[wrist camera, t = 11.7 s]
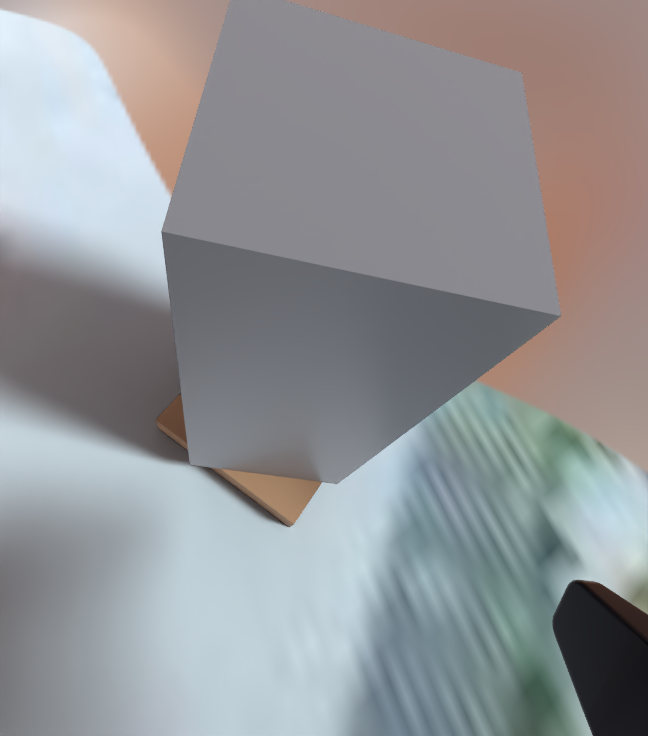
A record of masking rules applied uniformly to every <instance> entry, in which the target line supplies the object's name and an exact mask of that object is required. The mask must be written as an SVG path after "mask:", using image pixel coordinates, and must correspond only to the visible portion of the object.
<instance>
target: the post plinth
mask: <svg viewBox="0 0 648 736" xmlns="http://www.w3.org/2000/svg"><path fill="white" fill-rule="evenodd" d="M156 423H157V426H158V428H159V429H160V430H161V431H162V432H164V433H165V434H166V435H168V436H169V437H170V438H172V439H173V440H174V441H176V442H177V443H178V444H180V445H181V446H182V447H184V448H185V449H186V450H188V445H187V437H186V429H185V421H184V412H183V404H182V396H181V393H180V394H179V396H178V397H177V398H176V399H175V400H174V401H173V402H172V403H171V404H170V405H169V406H168V407H167V408H166V409H165V410H164V411H163V412H162V414H161V415H160V416H159V417H158V418H157V419H156ZM210 468H211V467H210ZM211 469H213V470H214V471H215V472H217V473H218V474H219V475H221V476H222V477H223V478H225V479H226V480H227V481H229V482H230V483H231V484H233V485H234V486H235V487H237V488H238V489H239V490H241V491H242V492H243V493H245V494H246V495H247V496H249V497H250V498H251V499H252V500H254V501H255V502H256V503H258V504H259V505H260V506H262V507H263V508H264V509H266V510H267V511H268V512H270V513H271V514H272V515H274V516H275V517H276V518H278V519H279V520H280V521H282V522H283V523H284V524H286V525H287V526H288V527H290V526H292V525H293V524H294V523H295V522H296V520H297V519H298V517H299V516H300V514H301V513H302V511H303V510H304V508H305V507H306V505H307V504H308V502H309V501H310V499H311V498H312V496H313V495H314V493H315V492H316V490H317V489H318V487H319V486H320V484H321V483H322V482H318V481H310V480H302V479H295V478H287V477H279V476H272V475H264V474H256V473H249V472H241V471H234V470H226V469H218V468H211Z"/></svg>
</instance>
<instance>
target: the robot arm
mask: <svg viewBox="0 0 648 736" xmlns="http://www.w3.org/2000/svg"><path fill="white" fill-rule="evenodd" d="M552 623H553V631H554V634H555V637H556V640H557V642H558V645H559V648H560V650H561V653H562V656H563V658H564V661H565V664H566V666H567V669H568V672H569V674H570V677H571V680H572V682H573V685H574V688H575V690H576V693H577V696H578V698H579V701H580V704H581V706H582V709H583V712H584V714H585V717H586V720H587V722H588V725H589V727H590V730H591V732H592V735H593V736H648V615H647V614H646V613H644V612H643V611H641V610H640V609H638V608H637V607H635V606H634V605H632V604H631V603H629V602H628V601H626V600H625V599H623V598H622V597H620V596H619V595H617V594H616V593H614V592H613V591H611V590H610V589H608V588H606V587H605V586H603V585H602V584H600V583H597V582H594V581H585V580H574V581H572V582H571V583H569V585H568V586H567V588H566V590H565V592H564V595H563V597H562V599H561V601H560V603H559V605H558V607H557V609H556V611H555V613H554V616H553V621H552Z"/></svg>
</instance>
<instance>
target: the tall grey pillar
mask: <svg viewBox="0 0 648 736" xmlns="http://www.w3.org/2000/svg"><path fill="white" fill-rule="evenodd" d="M161 232H162V240H163V248H164V256H165V265H166V273H167V281H168V289H169V297H170V306H171V314H172V322H173V330H174V339H175V347H176V355H177V363H178V371H179V380H180V388H181V396H182V404H183V412H184V421H185V429H186V437H187V445H188V453H189V462H190V465H195V466H203V467H211V468H218V469H226V470H234V471H241V472H249V473H256V474H264V475H272V476H279V477H287V478H295V479H302V480H310V481H318V482H325V483H333V484H338V483H339V482H340V481H342V480H343V479H345V478H346V477H347V476H349V475H350V474H351V473H353V472H354V471H355V470H357V469H358V468H359V467H361V466H362V465H363V464H365V463H366V462H367V461H369V460H370V459H371V458H373V457H374V456H375V455H377V454H378V453H379V452H381V451H382V450H383V449H385V448H386V447H387V446H389V445H390V444H391V443H393V442H394V441H395V440H397V439H398V438H399V437H401V436H402V435H403V434H405V433H406V432H407V431H409V430H410V429H411V428H413V427H414V426H415V425H417V424H418V423H419V422H421V421H422V420H423V419H425V418H426V417H427V416H429V415H430V414H431V413H433V412H434V411H435V410H437V409H438V408H439V407H441V406H442V405H443V404H445V403H446V402H447V401H449V400H450V399H451V398H453V397H454V396H455V395H457V394H458V393H459V392H461V391H462V390H463V389H465V388H466V387H467V386H469V385H470V384H471V383H473V382H474V381H475V380H477V379H478V378H479V377H480V376H482V375H483V374H484V373H486V372H487V371H489V370H490V369H491V368H493V367H494V366H495V365H496V364H498V363H499V362H501V361H502V360H503V359H505V358H506V357H507V356H509V355H510V354H511V353H513V352H514V351H515V350H517V349H518V348H519V347H520V346H522V345H523V344H525V343H526V342H527V341H528V340H530V339H531V338H532V337H534V336H535V335H537V334H538V333H539V332H541V331H542V330H543V329H544V328H546V327H547V326H549V325H550V324H551V323H553V322H554V321H555V320H557V319H558V318H559V317H560V316H561V312H560V306H559V300H558V294H557V287H556V281H555V275H554V269H553V264H552V257H551V250H550V244H549V238H548V232H547V226H546V220H545V213H544V207H543V202H542V195H541V189H540V183H539V177H538V170H537V165H536V158H535V152H534V146H533V139H532V134H531V127H530V121H529V115H528V109H527V102H526V97H525V90H524V85H523V78H522V73H520V72H517V71H514V70H510V69H507V68H504V67H501V66H498V65H494V64H491V63H487V62H484V61H481V60H478V59H475V58H471V57H468V56H465V55H462V54H458V53H455V52H452V51H448V50H445V49H442V48H439V47H435V46H432V45H429V44H426V43H422V42H419V41H416V40H413V39H409V38H406V37H403V36H399V35H396V34H393V33H390V32H386V31H383V30H379V29H376V28H373V27H370V26H367V25H364V24H360V23H357V22H354V21H350V20H347V19H344V18H341V17H337V16H334V15H331V14H328V13H324V12H321V11H318V10H314V9H311V8H308V7H305V6H302V5H298V4H295V3H292V2H288V1H285V0H230V3H229V6H228V10H227V13H226V16H225V20H224V23H223V27H222V30H221V33H220V37H219V40H218V43H217V47H216V50H215V53H214V57H213V61H212V64H211V67H210V70H209V73H208V77H207V80H206V83H205V87H204V90H203V94H202V97H201V100H200V104H199V107H198V110H197V114H196V117H195V120H194V124H193V127H192V131H191V134H190V137H189V141H188V144H187V147H186V151H185V154H184V158H183V161H182V164H181V167H180V171H179V174H178V178H177V181H176V184H175V188H174V191H173V194H172V198H171V201H170V204H169V208H168V211H167V215H166V218H165V221H164V225H163V228H162V231H161Z"/></svg>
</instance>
